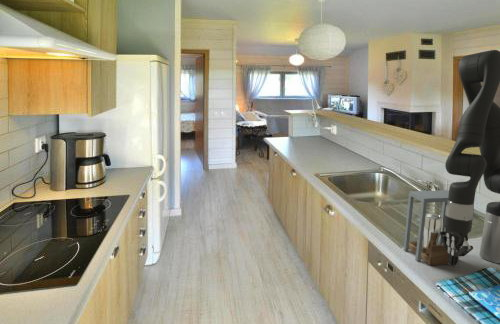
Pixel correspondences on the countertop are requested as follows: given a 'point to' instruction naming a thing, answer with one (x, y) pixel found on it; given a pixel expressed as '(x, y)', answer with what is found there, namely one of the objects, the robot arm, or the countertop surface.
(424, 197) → the grey four-legged stool
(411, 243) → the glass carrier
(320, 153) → the countertop surface
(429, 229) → the beer glass
